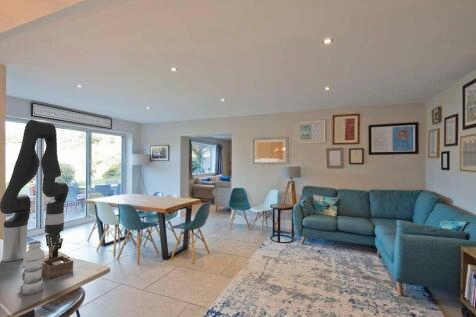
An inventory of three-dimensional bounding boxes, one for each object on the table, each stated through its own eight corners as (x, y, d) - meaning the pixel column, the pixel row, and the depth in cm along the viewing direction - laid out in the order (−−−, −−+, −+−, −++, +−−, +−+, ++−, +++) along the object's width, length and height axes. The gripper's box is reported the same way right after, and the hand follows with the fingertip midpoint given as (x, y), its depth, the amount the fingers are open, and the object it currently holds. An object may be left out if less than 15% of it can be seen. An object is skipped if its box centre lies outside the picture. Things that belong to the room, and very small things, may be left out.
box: (40, 274, 108) (40, 261, 108) (62, 267, 116) (63, 255, 116) (49, 281, 103) (50, 267, 103) (72, 273, 111) (73, 260, 111)
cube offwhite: (51, 270, 111) (51, 262, 111) (60, 267, 114) (60, 260, 114) (54, 272, 109) (55, 264, 109) (63, 269, 112) (63, 262, 112)
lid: (36, 262, 117) (37, 247, 117) (59, 255, 125) (60, 242, 125) (45, 268, 111) (46, 252, 111) (69, 260, 120) (69, 246, 120)
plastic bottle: (30, 298, 90) (33, 246, 90) (16, 296, 92) (19, 244, 92) (47, 289, 97) (49, 241, 97) (34, 287, 98) (36, 239, 98)
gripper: (39, 221, 119) (38, 255, 119) (52, 226, 112) (50, 262, 111) (57, 218, 125) (55, 250, 125) (69, 222, 118) (68, 257, 118)
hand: (53, 256), depth 118 cm, fingers closed on lid, 3 cm apart
